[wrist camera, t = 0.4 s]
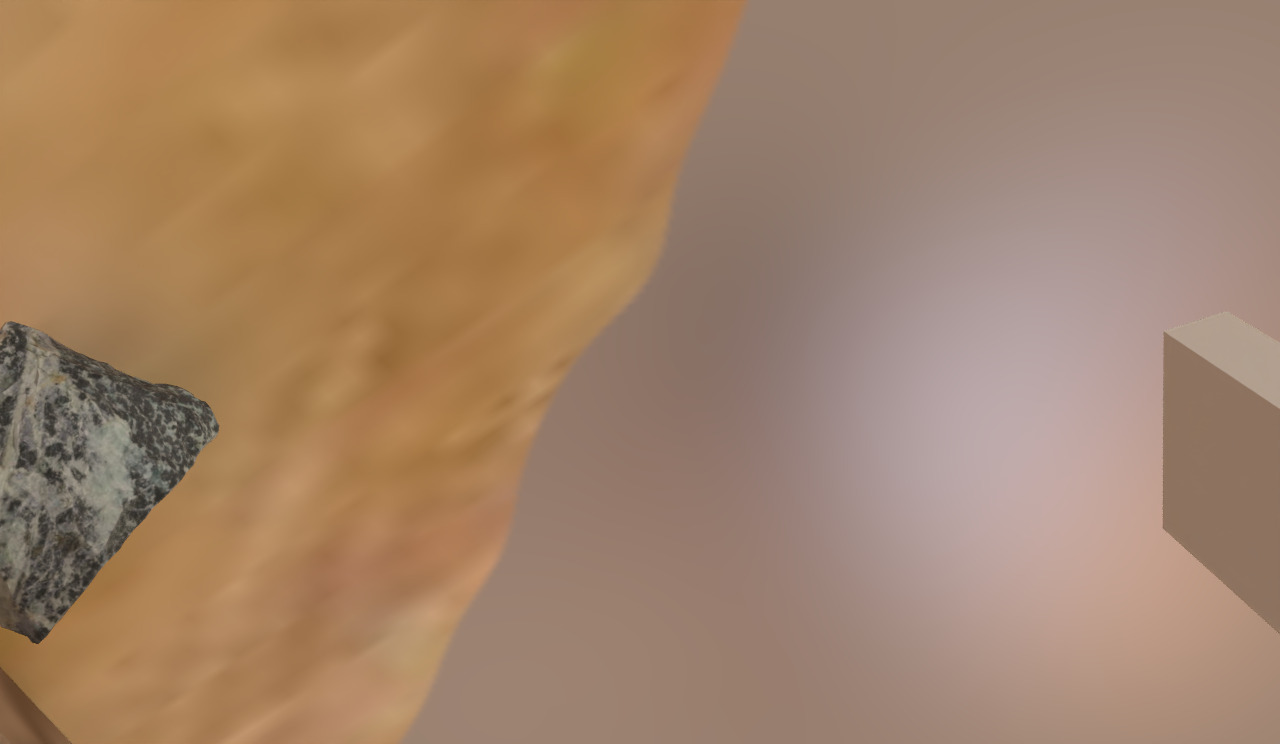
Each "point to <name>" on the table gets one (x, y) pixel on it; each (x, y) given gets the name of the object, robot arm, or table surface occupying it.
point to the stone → (79, 469)
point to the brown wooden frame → (23, 718)
